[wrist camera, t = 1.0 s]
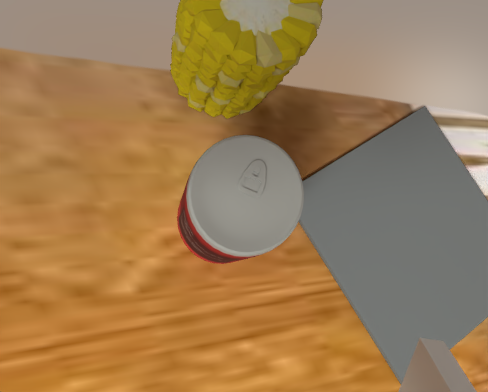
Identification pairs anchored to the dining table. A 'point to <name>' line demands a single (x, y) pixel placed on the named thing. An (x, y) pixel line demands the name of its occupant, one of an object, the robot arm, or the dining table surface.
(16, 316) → the dining table surface
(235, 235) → the canned food
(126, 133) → the dining table surface
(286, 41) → the food
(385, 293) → the rubber mat
